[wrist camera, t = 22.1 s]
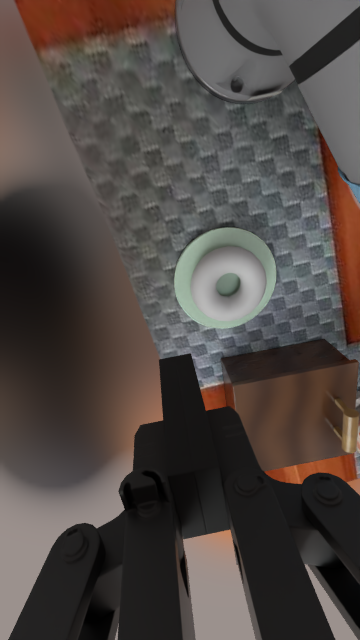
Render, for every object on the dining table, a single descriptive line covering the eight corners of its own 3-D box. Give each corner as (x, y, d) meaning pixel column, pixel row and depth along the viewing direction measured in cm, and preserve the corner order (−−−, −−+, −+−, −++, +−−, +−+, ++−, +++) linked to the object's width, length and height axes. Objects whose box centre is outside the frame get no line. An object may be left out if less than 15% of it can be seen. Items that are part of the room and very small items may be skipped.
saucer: (244, 204, 41) (246, 204, 40) (290, 291, 46) (293, 293, 45) (153, 266, 43) (153, 267, 42) (207, 343, 48) (208, 346, 47)
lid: (355, 358, 43) (380, 379, 39) (349, 449, 50) (370, 476, 45) (231, 382, 43) (242, 406, 38) (241, 471, 49) (251, 500, 45)
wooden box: (324, 338, 50) (349, 360, 43) (322, 422, 56) (344, 450, 50) (220, 358, 49) (231, 382, 43) (230, 440, 55) (241, 471, 49)
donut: (249, 231, 42) (177, 261, 42) (258, 235, 38) (180, 267, 39) (269, 299, 45) (203, 326, 46) (279, 307, 42) (208, 336, 43)
